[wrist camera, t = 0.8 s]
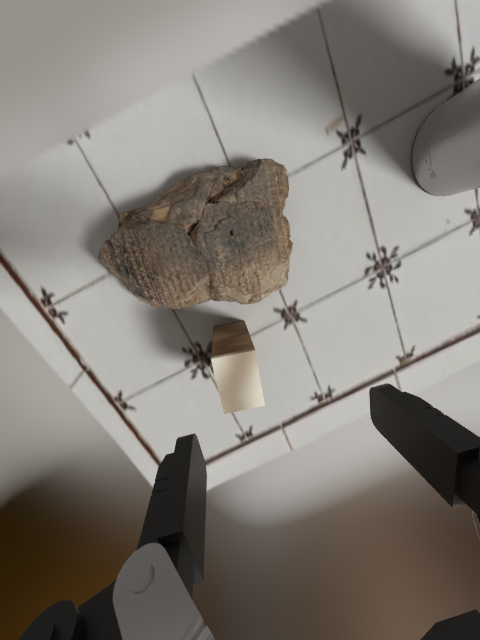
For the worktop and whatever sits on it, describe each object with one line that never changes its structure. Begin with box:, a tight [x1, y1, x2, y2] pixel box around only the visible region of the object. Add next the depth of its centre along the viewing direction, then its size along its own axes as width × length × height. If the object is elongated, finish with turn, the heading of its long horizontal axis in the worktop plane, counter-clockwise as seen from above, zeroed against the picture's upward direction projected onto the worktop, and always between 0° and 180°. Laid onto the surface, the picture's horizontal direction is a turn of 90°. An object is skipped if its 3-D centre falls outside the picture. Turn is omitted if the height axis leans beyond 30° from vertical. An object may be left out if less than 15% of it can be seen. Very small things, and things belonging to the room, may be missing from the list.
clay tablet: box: [98, 158, 293, 310], centre depth 23 cm, size 14×5×20 cm
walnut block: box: [211, 321, 264, 414], centre depth 25 cm, size 4×6×9 cm, turn 10°
